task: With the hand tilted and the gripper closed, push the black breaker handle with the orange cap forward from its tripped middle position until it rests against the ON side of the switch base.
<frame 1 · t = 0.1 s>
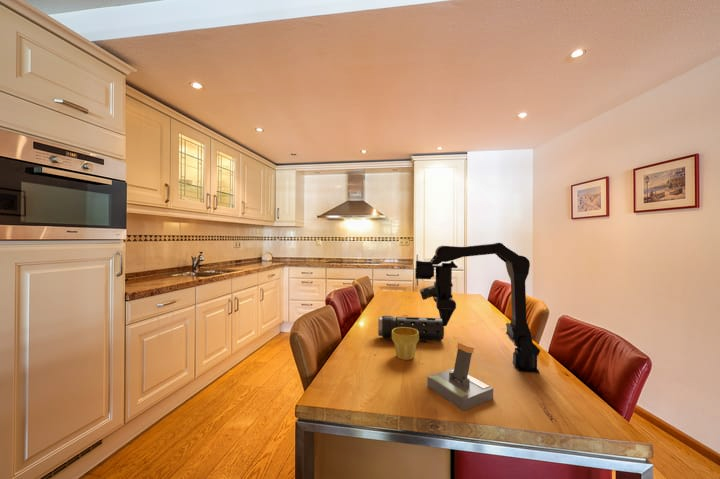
hand: (443, 322, 104), 15 cm above the table, tool pointing down, fingers open, 9 cm apart
switch base: (458, 392, 84), on the table
muzzle brake: (409, 340, 126), on the table
plant pot: (405, 356, 108), on the table
breaker handle: (462, 362, 84), point 8 cm above the table, hinge at -15.0°
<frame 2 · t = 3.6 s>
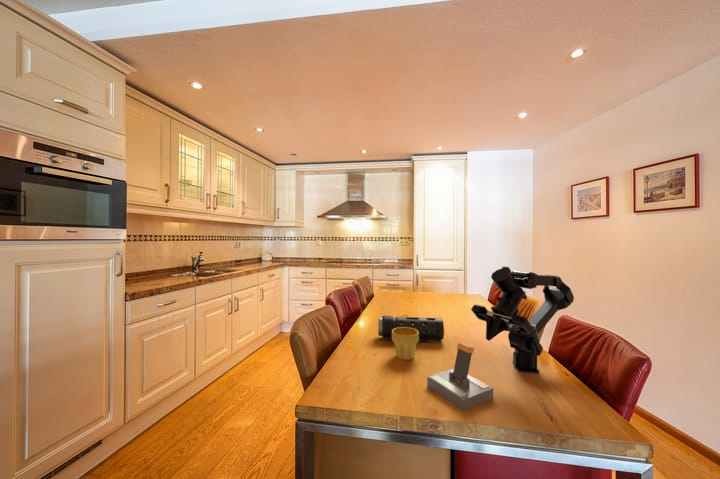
hand: (487, 339, 89), 14 cm above the table, tool tilted 45°, fingers closed
nothing on the table moved.
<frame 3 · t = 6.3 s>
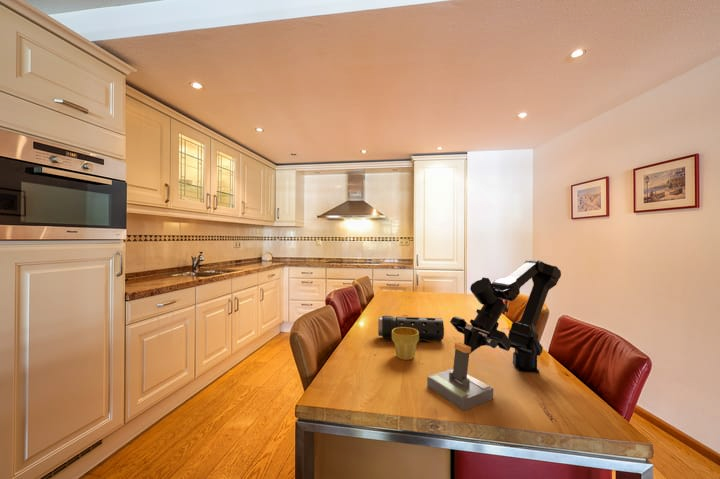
hand: (464, 355, 84), 11 cm above the table, tool tilted 45°, fingers closed, pressing on breaker handle
breaker handle: (460, 362, 84), point 9 cm above the table, hinge at -7.6°, touching gripper
everything else where it was.
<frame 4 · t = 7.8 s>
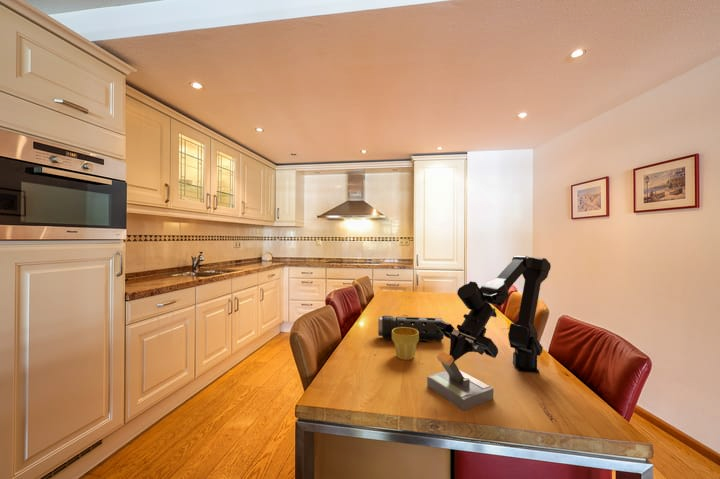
hand: (450, 361, 82), 10 cm above the table, tool tilted 45°, fingers closed, pressing on breaker handle
breaker handle: (451, 369, 82), point 8 cm above the table, hinge at 35.9°, touching gripper
everything else where it was.
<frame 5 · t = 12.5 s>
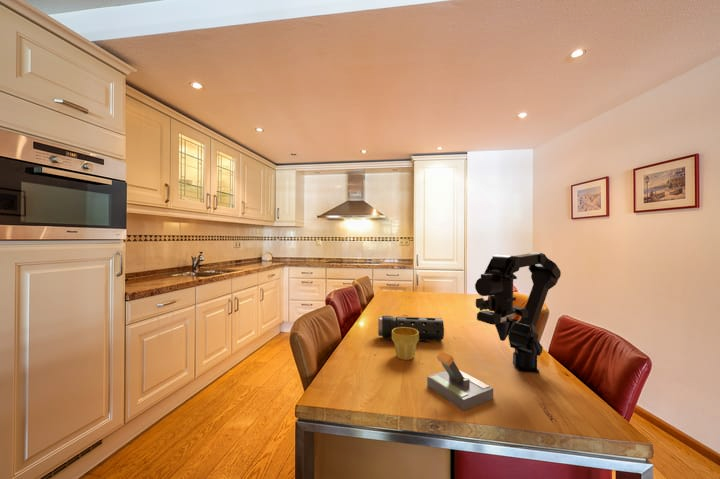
hand: (502, 340, 93), 12 cm above the table, tool pointing down, fingers closed
breaker handle: (451, 369, 82), point 8 cm above the table, hinge at 36.0°
everything else where it was.
at the end: breaker handle at +36° (first picture: -15°); plant pot moved 0.2 cm from its start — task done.
